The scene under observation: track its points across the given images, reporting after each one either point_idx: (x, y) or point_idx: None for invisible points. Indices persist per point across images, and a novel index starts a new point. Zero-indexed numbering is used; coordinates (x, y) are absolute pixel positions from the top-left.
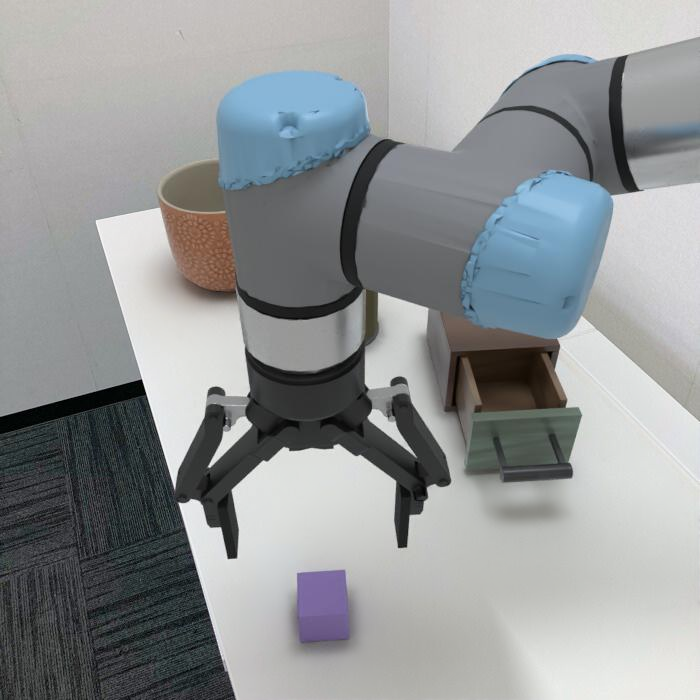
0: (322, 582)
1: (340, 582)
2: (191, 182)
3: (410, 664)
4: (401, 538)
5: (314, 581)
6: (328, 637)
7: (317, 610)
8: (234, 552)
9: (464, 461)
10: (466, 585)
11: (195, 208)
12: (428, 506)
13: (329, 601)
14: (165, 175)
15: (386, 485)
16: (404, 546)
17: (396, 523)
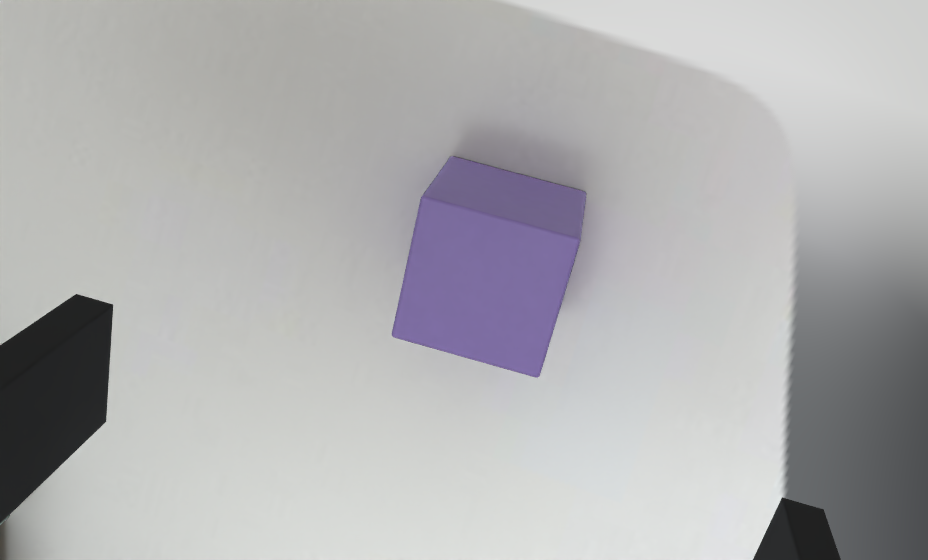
0: (471, 321)
1: (416, 302)
2: None
3: (304, 26)
4: (59, 331)
5: (494, 332)
6: (505, 174)
7: (512, 239)
8: (797, 530)
9: (5, 518)
10: (97, 193)
11: None
12: (139, 436)
13: (467, 255)
14: None
15: (231, 529)
16: (82, 301)
17: (69, 402)
